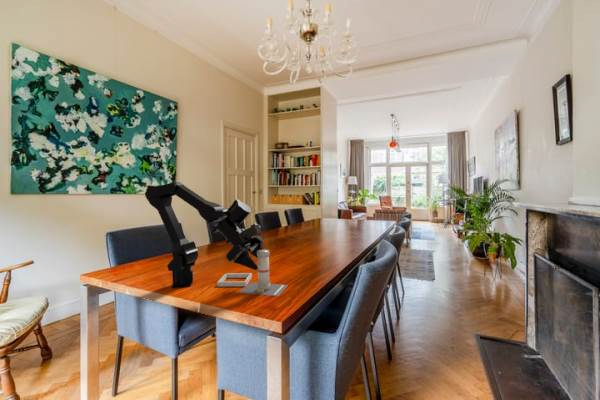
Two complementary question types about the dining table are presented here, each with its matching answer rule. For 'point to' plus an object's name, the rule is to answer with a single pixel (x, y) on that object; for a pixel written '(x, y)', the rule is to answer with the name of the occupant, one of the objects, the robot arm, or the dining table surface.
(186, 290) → the dining table surface
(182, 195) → the robot arm
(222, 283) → the parts tray
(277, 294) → the panel
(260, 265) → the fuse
